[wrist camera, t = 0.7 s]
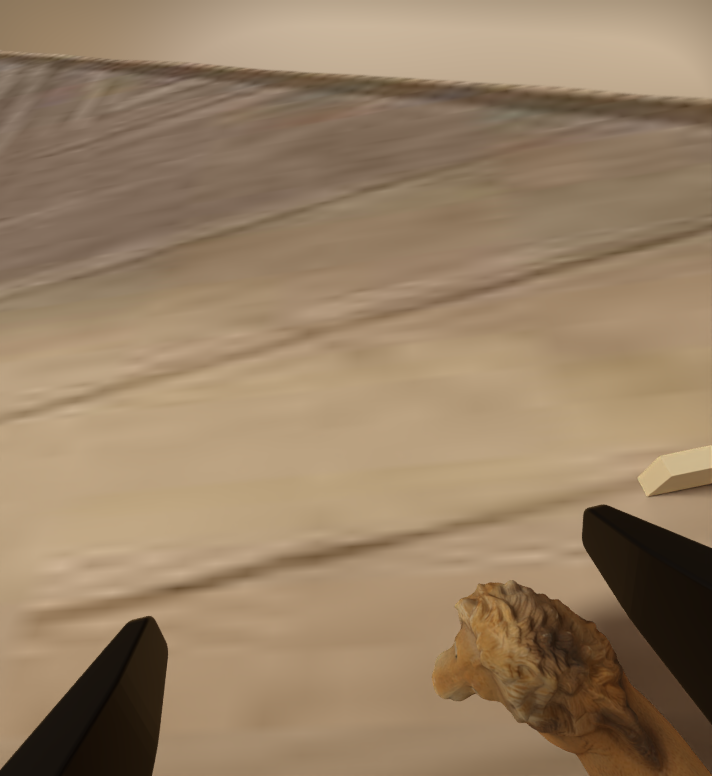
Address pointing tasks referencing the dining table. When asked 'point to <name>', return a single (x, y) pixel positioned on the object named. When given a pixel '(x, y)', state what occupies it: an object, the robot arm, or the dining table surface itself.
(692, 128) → the dining table surface
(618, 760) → the lion figurine
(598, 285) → the dining table surface
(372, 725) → the dining table surface
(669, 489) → the frame
